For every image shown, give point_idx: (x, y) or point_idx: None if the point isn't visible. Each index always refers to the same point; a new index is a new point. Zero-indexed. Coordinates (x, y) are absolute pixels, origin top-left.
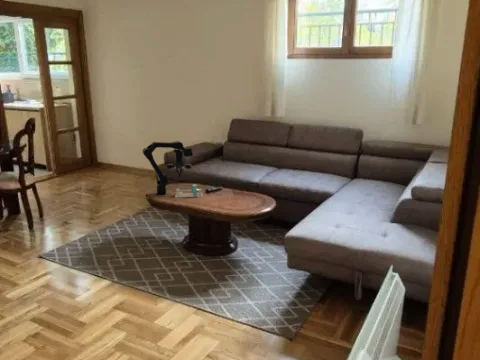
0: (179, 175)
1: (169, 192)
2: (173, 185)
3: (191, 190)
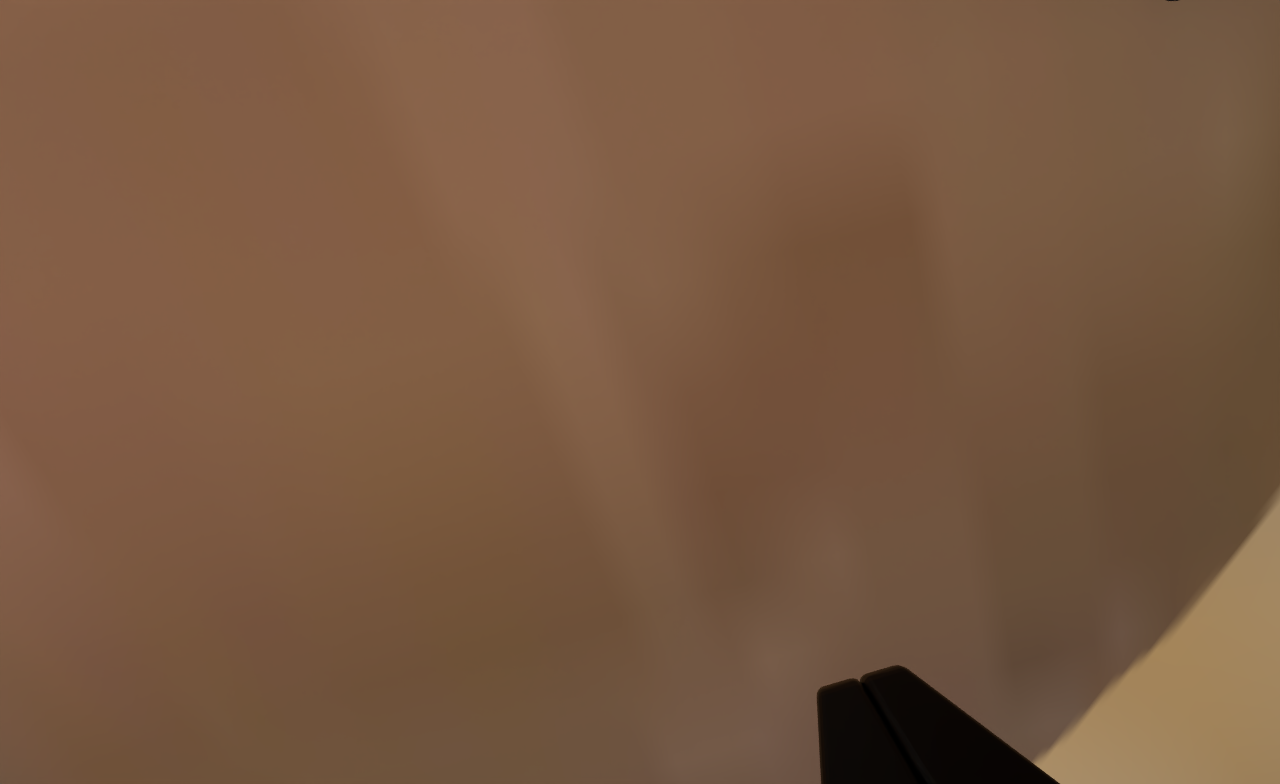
0: (901, 758)
1: (1007, 60)
2: None
3: None
